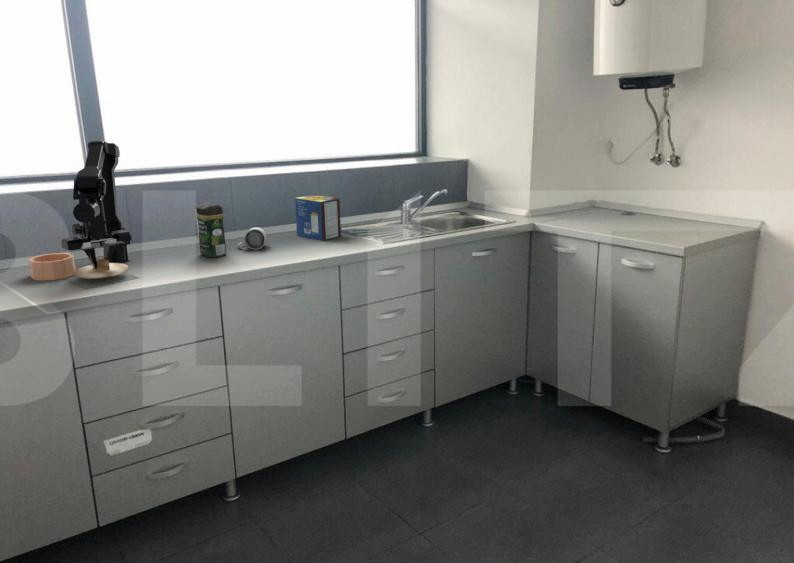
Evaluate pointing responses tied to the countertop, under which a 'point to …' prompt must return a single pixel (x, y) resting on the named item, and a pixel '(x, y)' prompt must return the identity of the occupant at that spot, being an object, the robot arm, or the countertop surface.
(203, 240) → the coffee jar
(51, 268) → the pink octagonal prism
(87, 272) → the lid
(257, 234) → the ceramic mug
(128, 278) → the mat
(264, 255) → the countertop surface
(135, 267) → the countertop surface
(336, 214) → the protein box
